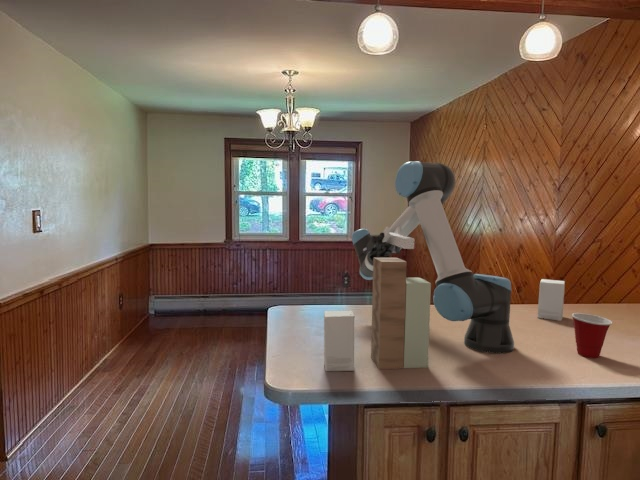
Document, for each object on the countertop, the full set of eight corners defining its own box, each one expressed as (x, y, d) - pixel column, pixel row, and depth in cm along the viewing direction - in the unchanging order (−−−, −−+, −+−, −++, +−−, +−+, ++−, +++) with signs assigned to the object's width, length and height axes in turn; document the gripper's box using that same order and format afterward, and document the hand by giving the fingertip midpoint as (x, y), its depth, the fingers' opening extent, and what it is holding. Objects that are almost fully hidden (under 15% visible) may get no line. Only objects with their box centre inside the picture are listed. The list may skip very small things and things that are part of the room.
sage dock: (394, 356, 134) (396, 277, 132) (416, 356, 135) (419, 277, 133) (403, 368, 126) (406, 283, 123) (427, 367, 126) (430, 283, 124)
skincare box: (352, 363, 129) (353, 310, 127) (354, 372, 122) (355, 316, 121) (322, 363, 128) (323, 309, 127) (323, 372, 122) (324, 315, 120)
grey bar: (382, 240, 153) (382, 232, 153) (390, 240, 154) (391, 232, 153) (404, 248, 130) (404, 238, 129) (414, 248, 130) (414, 238, 130)
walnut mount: (370, 357, 133) (373, 257, 131) (393, 356, 134) (396, 257, 132) (378, 369, 125) (381, 261, 122) (403, 368, 126) (406, 261, 123)
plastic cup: (611, 363, 131) (614, 323, 130) (569, 357, 137) (571, 318, 135) (608, 353, 141) (611, 315, 140) (569, 347, 146) (571, 310, 145)
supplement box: (562, 321, 178) (564, 284, 176) (537, 318, 182) (539, 281, 181) (563, 316, 185) (565, 280, 184) (538, 313, 190) (541, 278, 188)
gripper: (399, 267, 166) (419, 240, 145) (356, 267, 164) (370, 240, 143) (396, 248, 169) (415, 220, 148) (354, 248, 167) (368, 219, 146)
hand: (393, 230), depth 145 cm, fingers closed on grey bar, 3 cm apart
